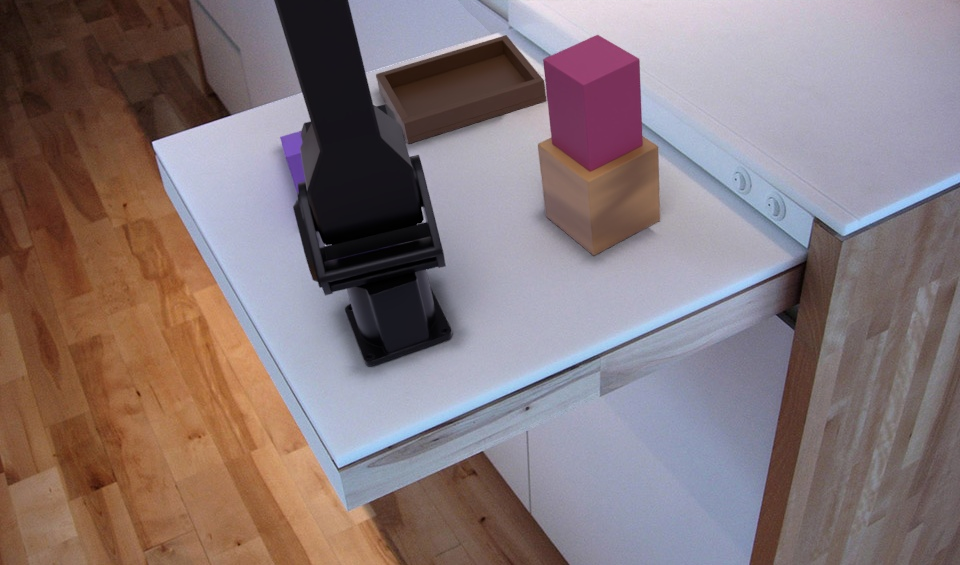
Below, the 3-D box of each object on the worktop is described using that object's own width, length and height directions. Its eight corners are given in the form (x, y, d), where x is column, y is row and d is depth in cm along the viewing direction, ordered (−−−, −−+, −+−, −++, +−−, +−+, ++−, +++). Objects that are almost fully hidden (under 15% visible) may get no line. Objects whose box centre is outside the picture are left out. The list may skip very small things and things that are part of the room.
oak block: (593, 256, 77) (587, 181, 72) (545, 216, 81) (536, 143, 77) (660, 220, 79) (658, 145, 74) (610, 183, 83) (605, 110, 79)
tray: (546, 100, 94) (544, 80, 92) (408, 144, 92) (403, 123, 90) (509, 54, 101) (506, 34, 100) (380, 93, 99) (375, 73, 97)
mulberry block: (590, 172, 73) (583, 85, 68) (551, 144, 76) (542, 58, 72) (643, 145, 75) (639, 58, 70) (603, 119, 78) (597, 34, 73)
